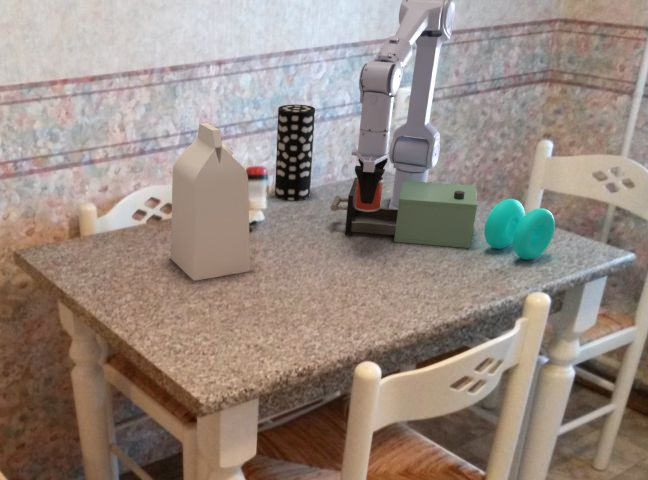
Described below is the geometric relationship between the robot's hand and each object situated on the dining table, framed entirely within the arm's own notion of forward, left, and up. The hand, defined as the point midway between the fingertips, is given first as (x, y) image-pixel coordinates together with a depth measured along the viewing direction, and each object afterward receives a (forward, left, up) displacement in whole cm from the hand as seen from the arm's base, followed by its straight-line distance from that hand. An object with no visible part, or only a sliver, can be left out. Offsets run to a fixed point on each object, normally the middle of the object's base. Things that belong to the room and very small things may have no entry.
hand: (368, 198), depth 161 cm
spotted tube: (-28, -20, -10) cm, 36 cm away
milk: (+19, -27, -10) cm, 35 cm away
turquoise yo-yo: (-2, +29, -10) cm, 31 cm away
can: (0, 0, -2) cm, 2 cm away
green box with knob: (-9, +14, -9) cm, 19 cm away
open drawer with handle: (-9, +1, -9) cm, 13 cm away
